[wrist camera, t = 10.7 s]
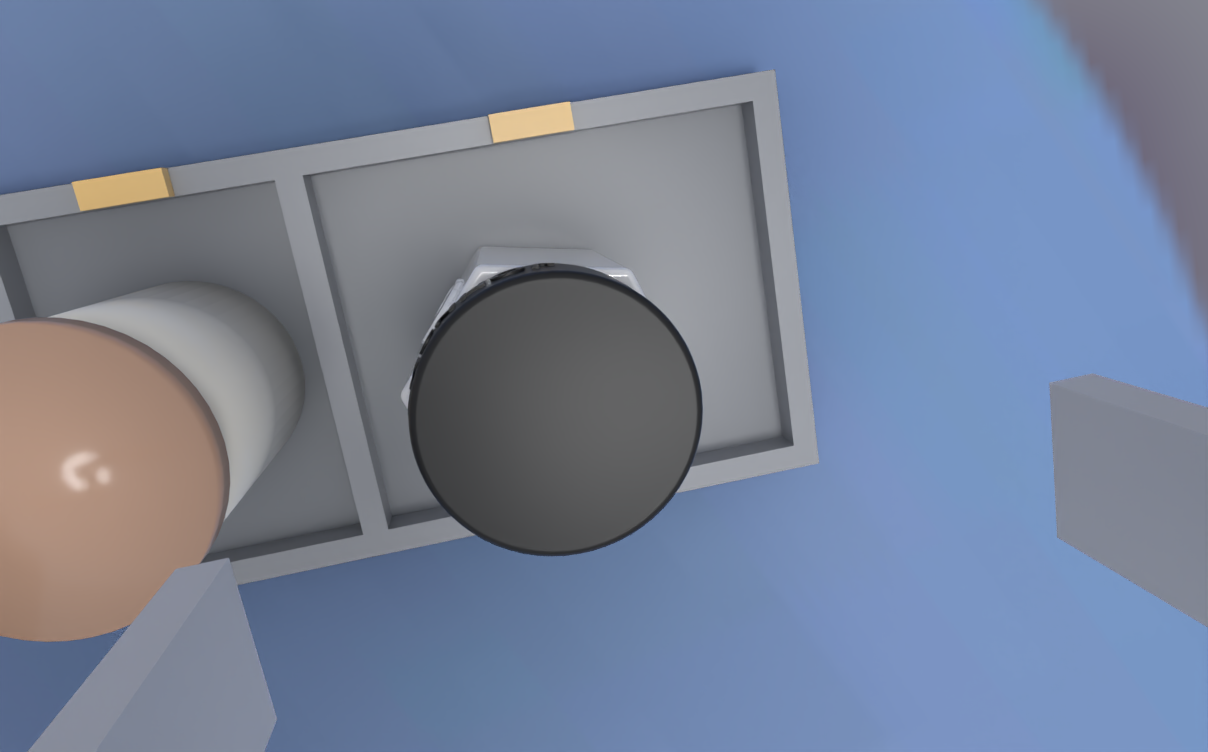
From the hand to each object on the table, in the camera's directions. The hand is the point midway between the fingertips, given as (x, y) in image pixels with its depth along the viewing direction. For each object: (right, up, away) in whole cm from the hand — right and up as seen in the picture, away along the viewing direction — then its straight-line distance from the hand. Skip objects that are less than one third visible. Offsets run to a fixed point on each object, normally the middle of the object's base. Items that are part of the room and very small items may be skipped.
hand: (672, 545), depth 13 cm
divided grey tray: (-8, +4, +21) cm, 23 cm away
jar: (-4, +4, +22) cm, 22 cm away
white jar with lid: (-17, +3, +21) cm, 27 cm away
